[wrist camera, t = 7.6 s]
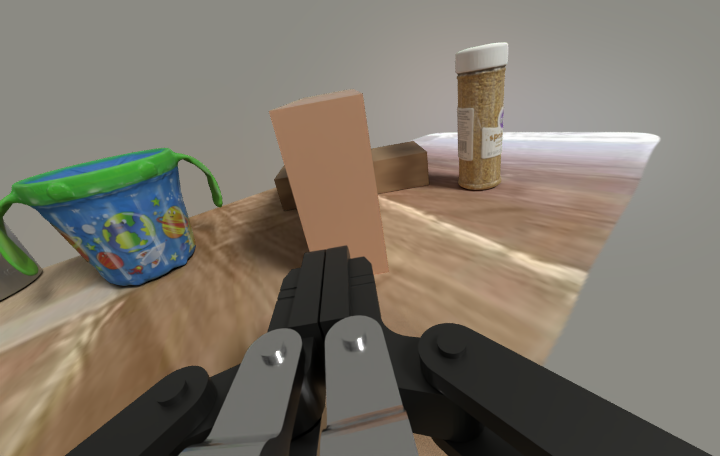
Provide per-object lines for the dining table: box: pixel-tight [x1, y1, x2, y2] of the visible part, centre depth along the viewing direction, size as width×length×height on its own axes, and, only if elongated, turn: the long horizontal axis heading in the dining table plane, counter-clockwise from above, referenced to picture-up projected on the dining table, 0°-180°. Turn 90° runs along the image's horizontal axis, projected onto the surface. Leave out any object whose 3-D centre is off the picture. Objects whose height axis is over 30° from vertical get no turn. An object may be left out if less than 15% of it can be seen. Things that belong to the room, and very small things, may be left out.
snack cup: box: [0, 148, 222, 286], centre depth 26 cm, size 16×10×10 cm
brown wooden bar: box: [274, 141, 429, 211], centre depth 38 cm, size 18×7×4 cm, turn 93°
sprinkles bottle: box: [455, 42, 508, 190], centre depth 30 cm, size 5×5×13 cm
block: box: [269, 89, 389, 275], centre depth 26 cm, size 5×16×12 cm, turn 3°
